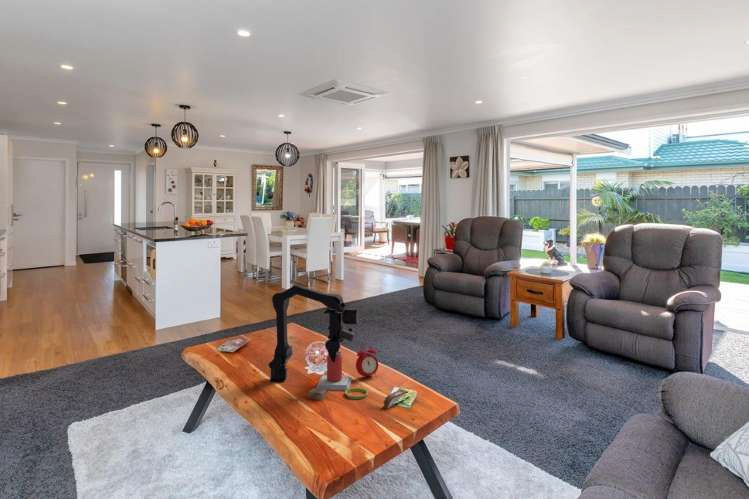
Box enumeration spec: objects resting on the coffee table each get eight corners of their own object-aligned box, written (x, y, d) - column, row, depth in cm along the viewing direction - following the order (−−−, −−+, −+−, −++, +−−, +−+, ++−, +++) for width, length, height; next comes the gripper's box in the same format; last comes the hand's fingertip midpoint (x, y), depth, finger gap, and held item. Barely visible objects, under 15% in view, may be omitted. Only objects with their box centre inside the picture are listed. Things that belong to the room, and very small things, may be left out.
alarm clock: (360, 381, 187) (360, 348, 186) (354, 376, 193) (354, 344, 192) (380, 377, 192) (380, 345, 191) (374, 373, 197) (374, 342, 197)
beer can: (329, 383, 178) (329, 355, 178) (324, 378, 184) (324, 351, 184) (344, 381, 181) (344, 353, 180) (338, 376, 187) (338, 349, 186)
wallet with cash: (405, 405, 175) (405, 386, 175) (411, 408, 173) (411, 388, 172) (381, 417, 164) (381, 396, 164) (387, 420, 162) (387, 398, 161)
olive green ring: (366, 407, 176) (366, 387, 176) (369, 416, 167) (369, 395, 167) (344, 408, 175) (344, 388, 175) (345, 417, 166) (346, 396, 166)
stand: (316, 389, 176) (316, 385, 176) (321, 378, 190) (321, 374, 190) (348, 390, 175) (349, 386, 175) (351, 379, 189) (351, 374, 189)
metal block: (308, 399, 167) (308, 391, 167) (313, 395, 171) (313, 388, 170) (322, 400, 165) (322, 393, 165) (326, 397, 169) (326, 390, 169)
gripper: (351, 328, 172) (351, 366, 173) (355, 319, 191) (354, 353, 191) (325, 328, 172) (324, 365, 173) (331, 319, 191) (330, 352, 191)
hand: (335, 358), depth 182 cm, fingers open, 9 cm apart
